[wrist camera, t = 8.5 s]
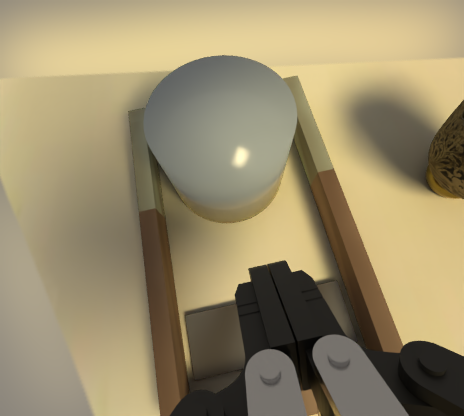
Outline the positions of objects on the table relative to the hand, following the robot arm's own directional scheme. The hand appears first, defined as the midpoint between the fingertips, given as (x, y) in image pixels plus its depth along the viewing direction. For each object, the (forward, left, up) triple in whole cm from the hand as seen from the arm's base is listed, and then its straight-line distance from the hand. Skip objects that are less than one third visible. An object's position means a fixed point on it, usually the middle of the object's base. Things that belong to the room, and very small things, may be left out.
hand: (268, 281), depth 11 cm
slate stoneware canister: (0, -10, -9) cm, 14 cm away
